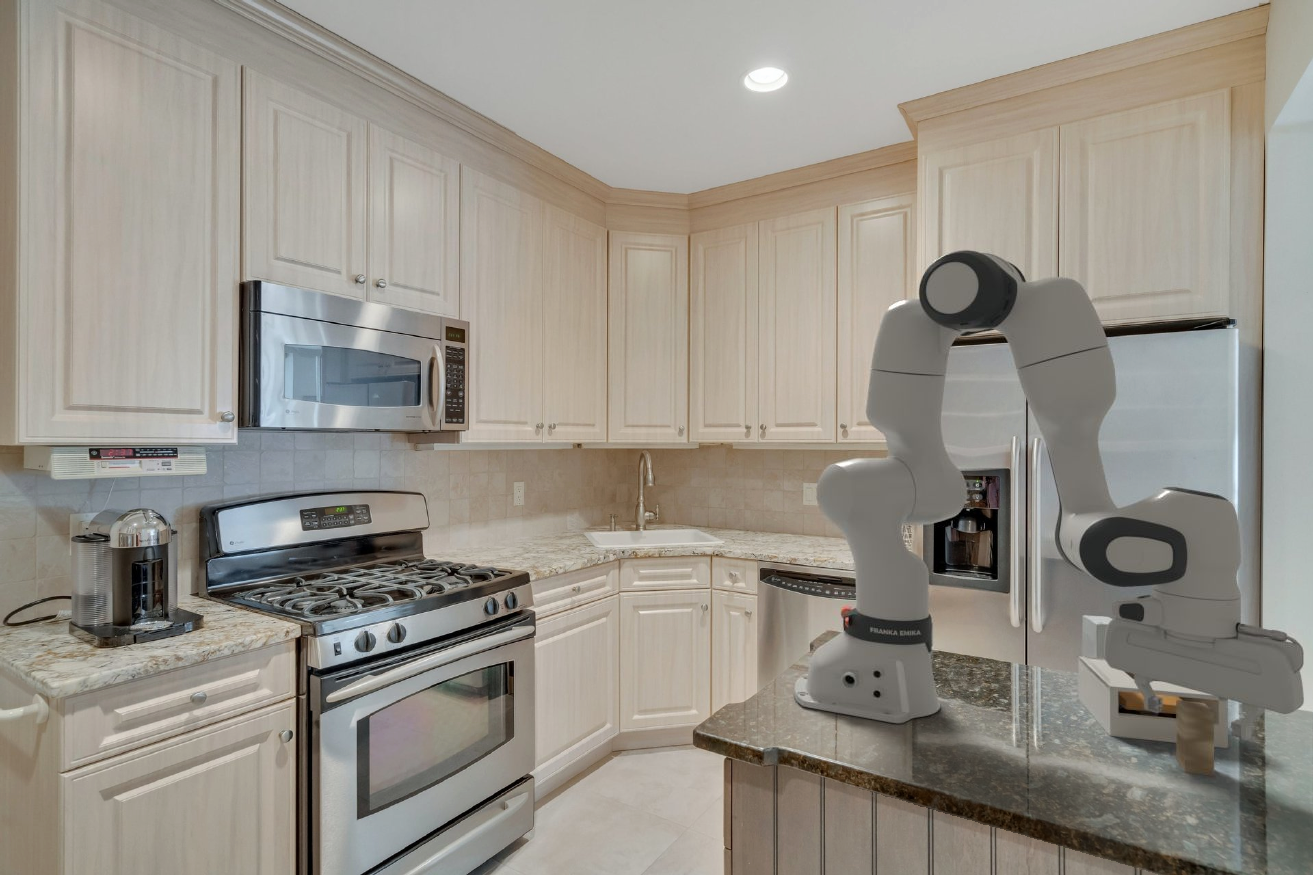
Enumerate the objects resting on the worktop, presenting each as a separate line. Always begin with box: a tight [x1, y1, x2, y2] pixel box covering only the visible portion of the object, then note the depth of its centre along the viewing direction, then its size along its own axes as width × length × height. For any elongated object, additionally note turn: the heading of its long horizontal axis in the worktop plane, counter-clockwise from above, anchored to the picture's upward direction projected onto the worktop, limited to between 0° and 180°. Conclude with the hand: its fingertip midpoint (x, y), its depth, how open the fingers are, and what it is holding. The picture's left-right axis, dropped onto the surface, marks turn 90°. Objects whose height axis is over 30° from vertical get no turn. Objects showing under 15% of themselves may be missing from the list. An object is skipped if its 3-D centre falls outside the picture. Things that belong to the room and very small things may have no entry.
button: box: [1118, 691, 1183, 717], centre depth 101 cm, size 8×8×3 cm
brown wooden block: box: [1175, 700, 1215, 777], centre depth 87 cm, size 3×3×8 cm
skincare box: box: [1081, 614, 1114, 658], centre depth 113 cm, size 6×4×12 cm
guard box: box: [1077, 655, 1229, 749], centre depth 101 cm, size 14×14×7 cm
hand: (1195, 723), depth 87 cm, fingers open, 8 cm apart
